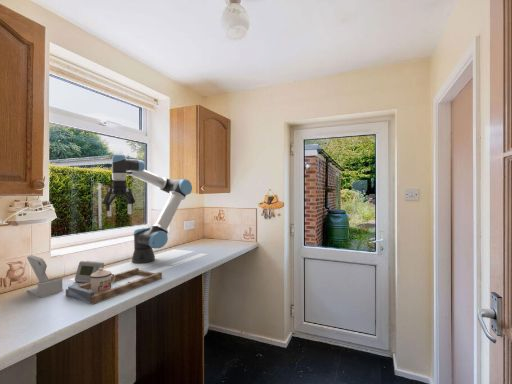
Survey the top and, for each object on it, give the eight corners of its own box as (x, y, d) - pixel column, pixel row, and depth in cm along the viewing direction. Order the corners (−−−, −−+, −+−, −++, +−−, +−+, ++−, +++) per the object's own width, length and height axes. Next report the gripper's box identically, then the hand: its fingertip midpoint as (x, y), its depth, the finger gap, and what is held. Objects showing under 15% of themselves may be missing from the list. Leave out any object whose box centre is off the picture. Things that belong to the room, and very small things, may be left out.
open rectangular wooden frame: (136, 272, 162) (136, 265, 162) (161, 277, 152) (161, 269, 152) (65, 295, 128) (65, 286, 128) (92, 304, 118) (92, 293, 118)
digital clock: (72, 282, 147) (72, 262, 147) (89, 277, 155) (89, 258, 155) (91, 286, 140) (91, 266, 140) (107, 281, 148) (107, 261, 148)
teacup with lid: (98, 296, 126) (98, 272, 126) (86, 293, 130) (85, 269, 130) (121, 288, 137) (120, 265, 137) (108, 285, 141) (108, 263, 141)
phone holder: (64, 291, 134) (64, 254, 134) (40, 297, 126) (39, 259, 125) (49, 284, 143) (49, 250, 143) (25, 290, 135) (25, 254, 135)
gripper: (103, 179, 151) (104, 217, 151) (140, 180, 173) (141, 213, 173) (95, 180, 154) (96, 217, 155) (132, 180, 177) (133, 213, 177)
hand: (120, 215), depth 164 cm, fingers open, 13 cm apart
